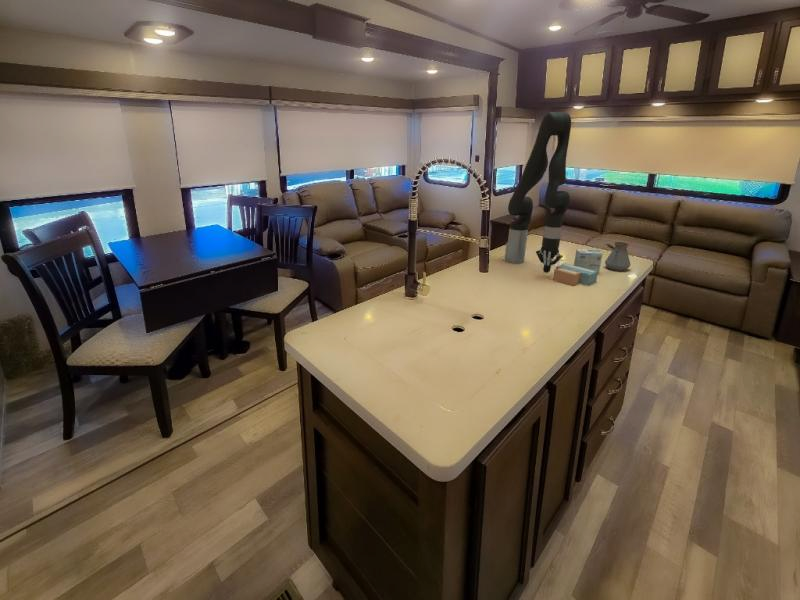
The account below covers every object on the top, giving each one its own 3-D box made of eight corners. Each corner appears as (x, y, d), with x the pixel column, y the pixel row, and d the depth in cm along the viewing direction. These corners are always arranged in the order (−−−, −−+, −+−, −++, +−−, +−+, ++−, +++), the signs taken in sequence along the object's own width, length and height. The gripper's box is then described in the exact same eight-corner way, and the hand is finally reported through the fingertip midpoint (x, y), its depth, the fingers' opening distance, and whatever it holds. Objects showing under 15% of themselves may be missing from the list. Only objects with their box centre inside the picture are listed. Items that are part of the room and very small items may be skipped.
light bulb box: (594, 270, 203) (598, 249, 199) (599, 274, 197) (603, 253, 193) (572, 269, 204) (575, 248, 200) (576, 273, 198) (580, 252, 194)
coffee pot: (610, 263, 214) (616, 235, 208) (633, 269, 205) (640, 240, 200) (588, 271, 202) (594, 241, 196) (612, 277, 193) (618, 246, 188)
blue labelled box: (554, 276, 194) (556, 266, 192) (563, 273, 199) (565, 263, 197) (587, 285, 183) (589, 274, 181) (596, 281, 188) (598, 271, 186)
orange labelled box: (552, 279, 189) (554, 269, 187) (558, 277, 192) (560, 267, 190) (573, 285, 182) (575, 274, 180) (578, 283, 185) (580, 272, 183)
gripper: (534, 234, 189) (529, 270, 196) (561, 240, 180) (555, 277, 187) (543, 232, 194) (538, 267, 200) (569, 237, 185) (563, 274, 191)
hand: (546, 272), depth 193 cm, fingers closed
